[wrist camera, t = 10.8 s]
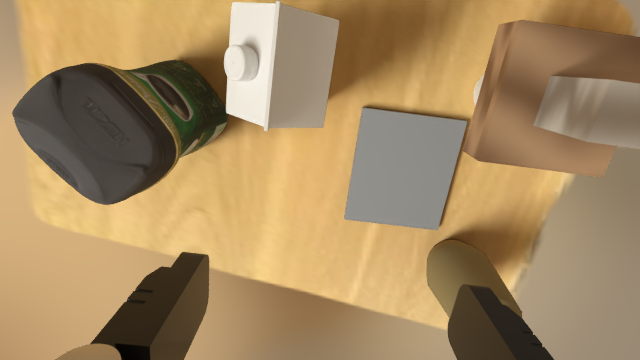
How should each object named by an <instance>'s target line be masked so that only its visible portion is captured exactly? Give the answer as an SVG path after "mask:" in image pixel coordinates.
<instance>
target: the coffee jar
mask: <svg viewBox="0 0 640 360" xmlns="http://www.w3.org/2000/svg"><path fill="white" fill-rule="evenodd" d="M12 114H13V117H14V120H15V123H16V126H17V128H18V131H19V133H20V135H21V136H22V138H23V139H24V141H25V142H26V143H27V145H28V146H29V147H30V148H31V149H32V150H33V151H34V152H35V153H36V154H37V155H38V156H39V157H40V158H41V159H42V160H43V161H44V162H45V163H46V164H47V165H48V166H49V167H50V168H51V169H52V170H53V171H54V172H56V173H57V174H58V175H59V176H60V177H61V178H62V179H63V180H65V181H66V182H67V183H68V184H69V185H71V186H72V187H73V188H74V189H75V190H76V191H77V192H79V193H80V194H81V195H83V196H84V197H86V198H88V199H89V200H91V201H94V202H96V203H99V204H104V205H110V204H115V203H118V202H120V201H123V200H126V199H128V198H129V197H131V196H133V195H135V194H137V193H140V192H143V191H145V190H147V189H149V188H151V187H152V186H154V185H155V184H157V183H158V182H160V181H161V180H162V179H163V178H164V177H165V176H167V175H168V174H169V172H170V171H171V170H172V169H173V168H174V166H175V165H176V163H177V162H178V160H179V158H181V157H183V156H185V155H188V154H190V153H193V152H195V151H197V150H199V149H201V148H203V147H204V146H206V145H207V144H209V143H210V142H211V141H213V140H214V139H215V138H216V137H217V136H218V135H219V134H220V133H221V132H222V131H223V130H224V128H225V126H226V123H227V113H226V109H225V106H224V105H223V103H222V101H221V100H220V98H219V97H218V96H217V94H216V93H215V91H214V90H213V89H212V88H211V87H210V85H209V84H208V83H207V82H206V81H205V80H204V78H203V77H202V76H201V75H200V74H199V73H198V72H196V71H195V70H194V69H193V68H192V67H191V66H190V65H188V64H186V63H184V62H182V61H177V60H170V61H163V62H159V63H156V64H152V65H149V66H146V67H142V68H138V69H132V70H121V69H118V68H114V67H111V66H108V65H104V64H98V63H84V64H80V65H76V66H70V67H65V68H62V69H60V70H57V71H55V72H52V73H50V74H49V75H47V76H45V77H44V78H43V79H41V80H40V81H39V82H37V83H36V84H35V85H34V86H33V87H32V88H31V89H30V90H29V91H28V92H27V93H26V94H25V95H24V96H23V98H22V99H21V100H20V101H19V103H18V104H17V106H16V107H15V109H14V110H13V113H12Z"/></svg>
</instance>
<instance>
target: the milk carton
mask: <svg viewBox="0 0 640 360" xmlns="http://www.w3.org/2000/svg"><path fill="white" fill-rule="evenodd" d="M338 30H339V20H337V19H334V18H330V17H327V16H323V15H319V14H316V13H312V12H309V11H305V10H302V9H298V8H294V7H291V6H287V5H284V4H281V2H280V1H276V3H240V2H233V3H232V8H231V21H230V39H229V47H228V48H227V50H226V53H225V57H224V69H225V72H226V75H227V95H226V113H227V114H230V115H233V116H236V117H238V118H241V119H244V120H247V121H249V122H252V123H255V124H258V125H261V126H263V127H264V131H268V129H269V128H322V127H323V125H324V120H325V114H326V108H327V101H328V95H329V88H330V82H331V75H332V69H333V62H334V56H335V49H336V43H337V36H338Z"/></svg>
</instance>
